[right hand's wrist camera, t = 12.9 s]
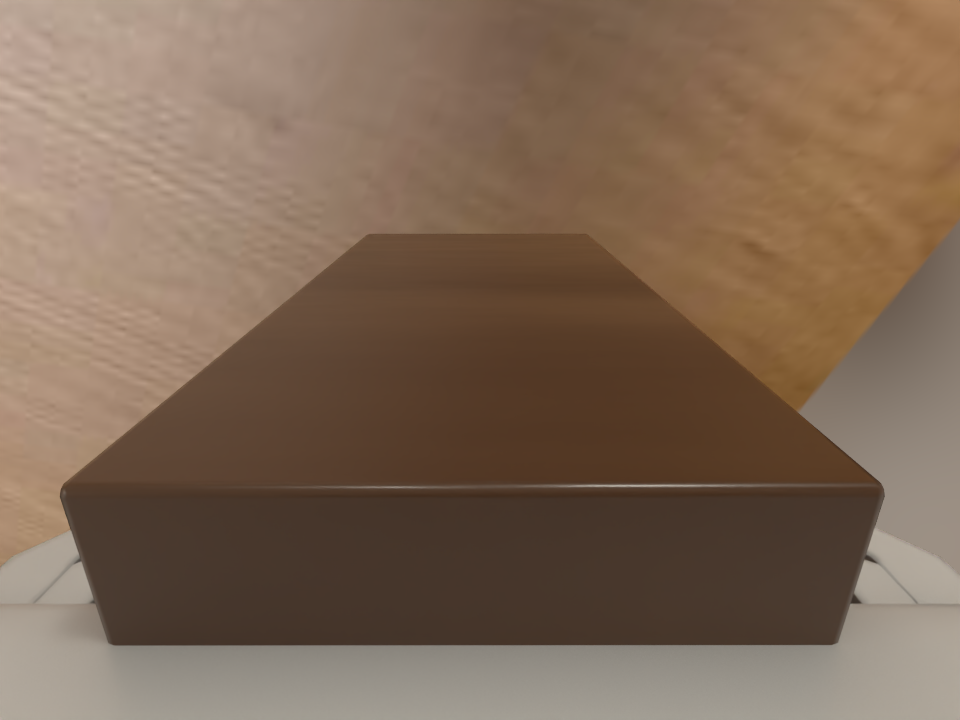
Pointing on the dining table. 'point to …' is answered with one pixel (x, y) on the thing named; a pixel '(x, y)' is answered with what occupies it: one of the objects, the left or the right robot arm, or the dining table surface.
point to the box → (473, 471)
